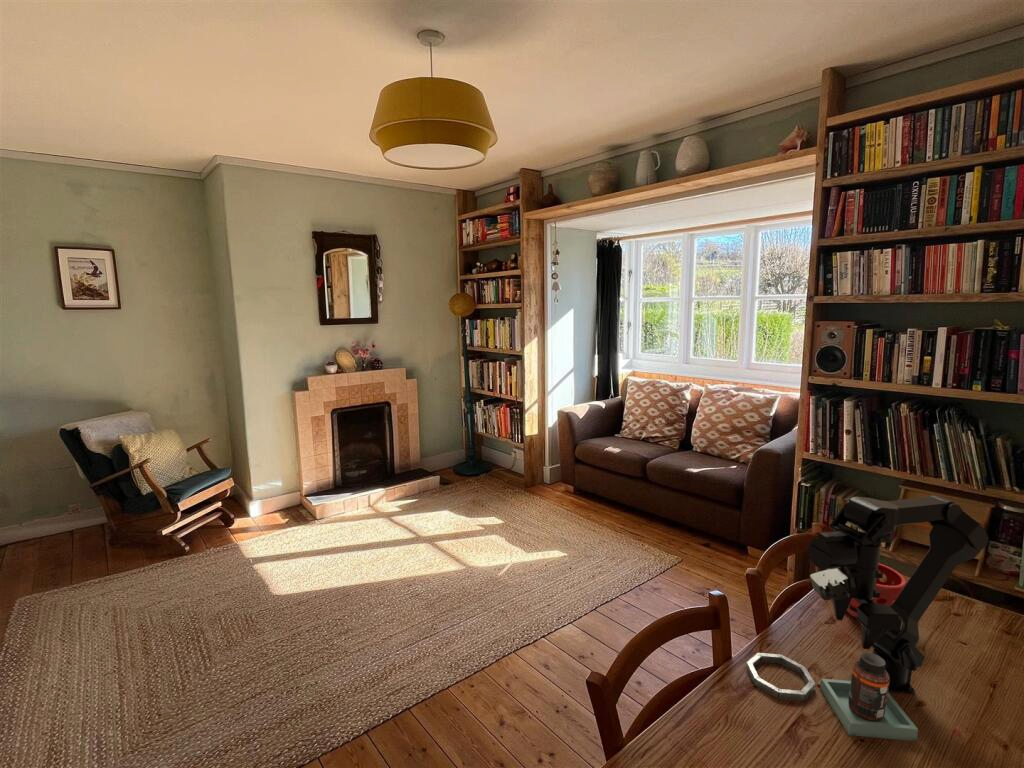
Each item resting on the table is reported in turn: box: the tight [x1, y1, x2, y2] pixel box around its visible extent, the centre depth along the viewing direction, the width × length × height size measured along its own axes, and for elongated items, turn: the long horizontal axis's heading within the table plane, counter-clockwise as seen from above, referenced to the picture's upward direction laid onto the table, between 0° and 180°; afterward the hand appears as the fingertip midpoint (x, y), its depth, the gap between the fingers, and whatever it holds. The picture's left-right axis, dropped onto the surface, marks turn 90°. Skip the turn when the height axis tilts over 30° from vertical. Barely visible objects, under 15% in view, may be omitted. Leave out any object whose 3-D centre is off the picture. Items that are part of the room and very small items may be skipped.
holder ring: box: [746, 652, 816, 702], centre depth 112 cm, size 12×12×2 cm
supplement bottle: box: [848, 651, 890, 721], centre depth 102 cm, size 6×6×11 cm
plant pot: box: [846, 562, 907, 618], centre depth 134 cm, size 13×13×12 cm
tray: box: [819, 678, 919, 742], centre depth 103 cm, size 12×12×2 cm
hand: (851, 633), depth 107 cm, fingers open, 9 cm apart
